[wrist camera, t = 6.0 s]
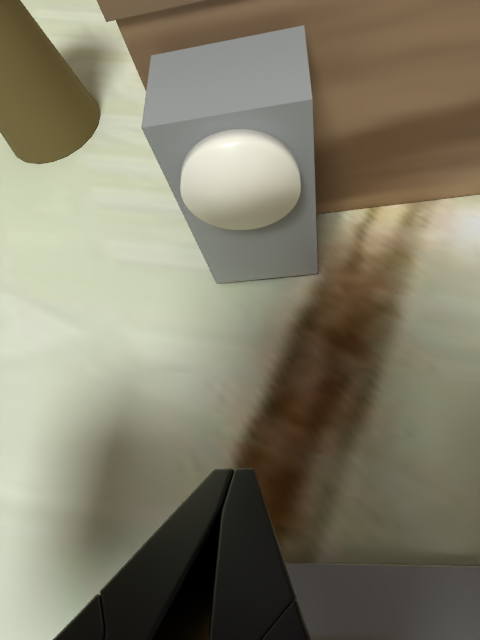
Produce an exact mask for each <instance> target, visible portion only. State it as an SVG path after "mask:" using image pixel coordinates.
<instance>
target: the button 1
mask: <svg viewBox="0 0 480 640" xmlns="http://www.w3.org/2000/svg"><path fill="white" fill-rule="evenodd" d="M142 130H143V132H144V134H145V136H146V138H147V140H148V142H149V144H150V146H151V148H152V151H153V153H154V155H155V157H156V159H157V161H158V163H159V165H160V167H161V169H162V171H163V173H164V175H165V178H166V180H167V182H168V184H169V186H170V188H171V190H172V192H173V194H174V196H175V198H176V200H177V202H178V204H179V207H180V209H181V211H182V213H183V215H184V217H185V219H186V221H187V223H188V225H189V227H190V229H191V231H192V233H193V236H194V238H195V240H196V242H197V244H198V246H199V248H200V250H201V252H202V254H203V256H204V258H205V260H206V263H207V265H208V267H209V269H210V271H211V273H212V275H213V277H214V279H215V281H216V283H227V282H237V281H247V280H257V279H267V278H278V277H288V276H298V275H308V274H318V261H317V229H316V197H315V165H314V132H313V100H312V91H311V82H310V73H309V64H308V55H307V46H306V37H305V28H304V25H303V26H298V27H293V28H288V29H283V30H278V31H273V32H268V33H263V34H258V35H252V36H247V37H242V38H237V39H232V40H227V41H222V42H217V43H212V44H207V45H202V46H197V47H192V48H187V49H182V50H177V51H172V52H166V53H161V54H156V55H151V61H150V68H149V76H148V83H147V91H146V98H145V106H144V113H143V121H142Z"/></svg>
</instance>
